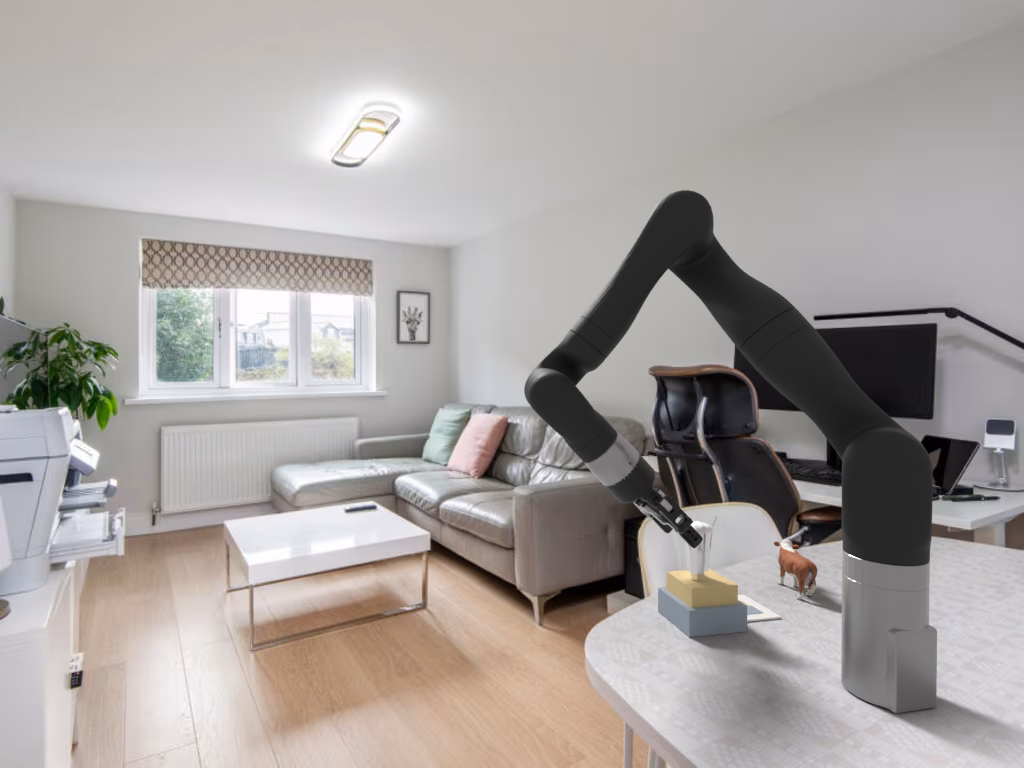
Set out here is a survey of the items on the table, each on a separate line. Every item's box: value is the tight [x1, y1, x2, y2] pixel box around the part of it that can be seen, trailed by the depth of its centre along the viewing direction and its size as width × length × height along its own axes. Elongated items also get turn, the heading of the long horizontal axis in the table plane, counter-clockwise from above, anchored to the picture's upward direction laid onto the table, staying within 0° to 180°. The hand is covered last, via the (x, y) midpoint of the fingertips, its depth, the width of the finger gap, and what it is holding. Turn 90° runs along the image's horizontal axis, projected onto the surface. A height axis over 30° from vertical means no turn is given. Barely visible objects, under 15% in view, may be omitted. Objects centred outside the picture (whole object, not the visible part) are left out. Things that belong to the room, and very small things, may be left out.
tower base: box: [657, 567, 748, 638], centre depth 93 cm, size 10×10×7 cm
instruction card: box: [738, 594, 782, 623], centre depth 98 cm, size 10×7×1 cm
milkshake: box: [684, 516, 718, 581], centre depth 93 cm, size 5×5×10 cm
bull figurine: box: [773, 538, 818, 601], centre depth 108 cm, size 4×13×8 cm, turn 174°
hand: (683, 536), depth 93 cm, fingers open, 8 cm apart
